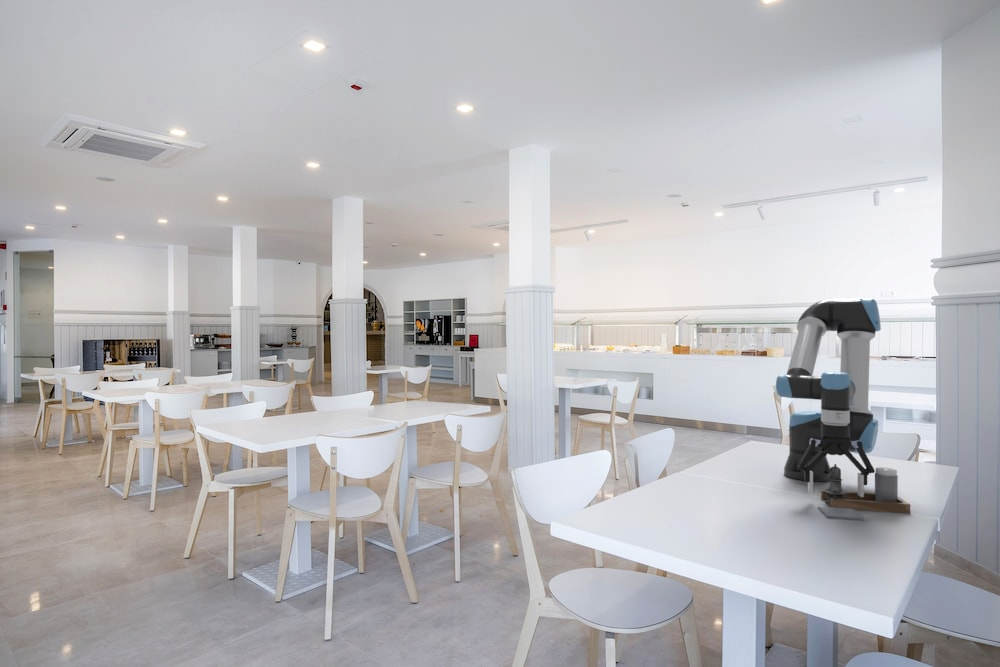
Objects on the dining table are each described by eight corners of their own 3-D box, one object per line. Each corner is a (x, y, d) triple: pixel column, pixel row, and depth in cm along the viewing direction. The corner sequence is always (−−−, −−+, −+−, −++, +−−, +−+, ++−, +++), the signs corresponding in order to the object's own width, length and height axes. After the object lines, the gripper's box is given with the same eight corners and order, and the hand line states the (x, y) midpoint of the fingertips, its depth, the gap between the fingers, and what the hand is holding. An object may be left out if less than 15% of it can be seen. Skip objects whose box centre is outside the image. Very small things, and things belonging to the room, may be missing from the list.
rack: (820, 498, 179) (820, 490, 179) (894, 502, 174) (894, 494, 174) (831, 508, 169) (831, 499, 169) (910, 513, 164) (910, 504, 164)
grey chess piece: (849, 507, 170) (849, 466, 170) (828, 505, 171) (828, 465, 171) (842, 501, 175) (842, 462, 175) (821, 500, 177) (821, 461, 177)
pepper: (871, 503, 173) (871, 466, 173) (892, 504, 172) (892, 467, 172) (879, 508, 168) (879, 471, 168) (901, 510, 166) (901, 472, 166)
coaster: (817, 508, 168) (817, 506, 168) (852, 510, 166) (852, 508, 166) (827, 517, 160) (827, 515, 160) (863, 520, 157) (863, 518, 157)
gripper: (793, 424, 173) (793, 494, 172) (887, 427, 166) (887, 500, 166) (787, 420, 180) (787, 488, 180) (877, 423, 174) (877, 493, 174)
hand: (835, 494), depth 173 cm, fingers open, 13 cm apart
